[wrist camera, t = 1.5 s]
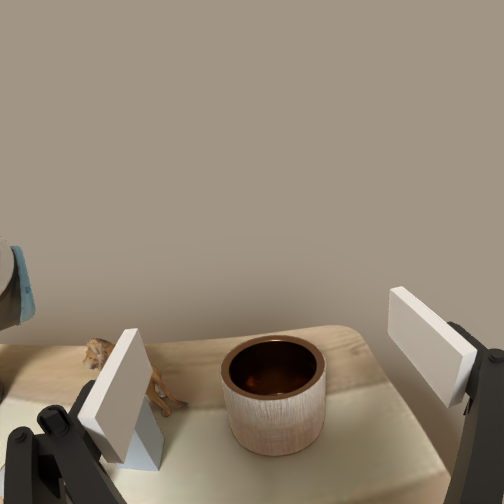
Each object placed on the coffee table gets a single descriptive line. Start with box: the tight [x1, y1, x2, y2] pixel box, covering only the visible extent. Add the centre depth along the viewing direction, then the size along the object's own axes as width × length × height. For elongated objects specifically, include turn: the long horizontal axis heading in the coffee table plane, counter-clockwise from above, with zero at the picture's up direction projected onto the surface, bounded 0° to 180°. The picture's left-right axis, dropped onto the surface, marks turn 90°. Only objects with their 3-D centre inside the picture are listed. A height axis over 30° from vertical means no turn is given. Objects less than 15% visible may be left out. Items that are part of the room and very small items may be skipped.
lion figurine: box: [83, 338, 188, 416], centre depth 37 cm, size 15×5×9 cm, turn 76°
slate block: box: [96, 378, 164, 471], centre depth 27 cm, size 5×5×10 cm
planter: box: [220, 335, 326, 456], centre depth 32 cm, size 11×11×10 cm
